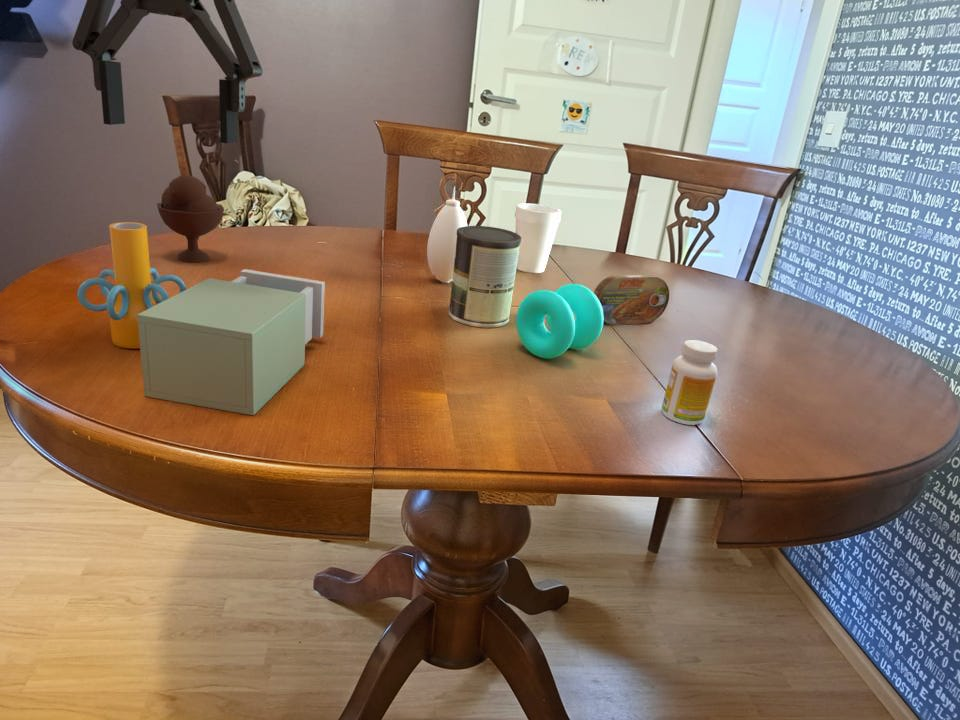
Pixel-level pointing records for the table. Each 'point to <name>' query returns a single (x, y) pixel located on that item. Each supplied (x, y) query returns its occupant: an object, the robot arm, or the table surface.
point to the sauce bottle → (445, 240)
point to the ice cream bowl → (190, 214)
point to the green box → (222, 345)
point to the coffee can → (483, 276)
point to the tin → (632, 299)
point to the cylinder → (128, 283)
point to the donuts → (559, 320)
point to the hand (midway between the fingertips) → (171, 133)
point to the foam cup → (535, 235)
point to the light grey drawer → (294, 284)
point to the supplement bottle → (690, 383)
